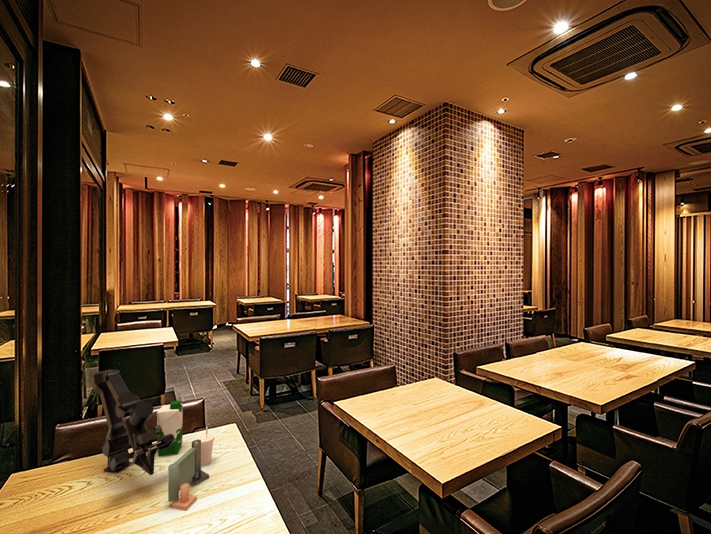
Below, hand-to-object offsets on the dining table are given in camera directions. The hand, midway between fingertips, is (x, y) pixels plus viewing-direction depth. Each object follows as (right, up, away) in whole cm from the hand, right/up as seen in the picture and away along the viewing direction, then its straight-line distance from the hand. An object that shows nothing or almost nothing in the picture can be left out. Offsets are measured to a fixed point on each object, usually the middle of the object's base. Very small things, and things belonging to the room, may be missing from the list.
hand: (152, 474), depth 115 cm
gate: (+10, -5, 0) cm, 11 cm away
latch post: (+13, -7, -5) cm, 16 cm away
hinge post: (+11, -7, +8) cm, 15 cm away
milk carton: (-9, -7, +28) cm, 30 cm away
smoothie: (+10, -7, +19) cm, 22 cm away
